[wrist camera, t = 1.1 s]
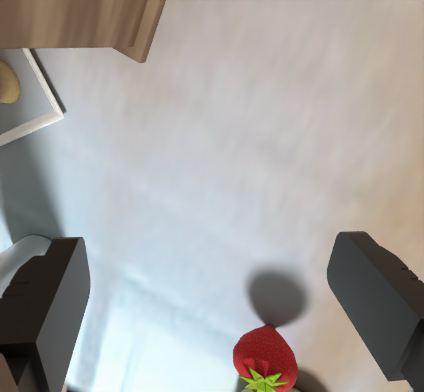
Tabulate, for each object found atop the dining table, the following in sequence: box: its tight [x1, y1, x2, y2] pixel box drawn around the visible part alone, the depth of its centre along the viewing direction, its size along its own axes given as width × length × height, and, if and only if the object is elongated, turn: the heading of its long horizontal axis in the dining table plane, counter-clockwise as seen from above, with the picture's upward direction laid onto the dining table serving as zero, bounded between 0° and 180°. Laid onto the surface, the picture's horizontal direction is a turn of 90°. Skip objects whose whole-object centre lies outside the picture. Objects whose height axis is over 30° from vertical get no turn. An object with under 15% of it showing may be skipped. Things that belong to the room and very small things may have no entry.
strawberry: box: [233, 325, 298, 392], centre depth 36 cm, size 6×8×10 cm
